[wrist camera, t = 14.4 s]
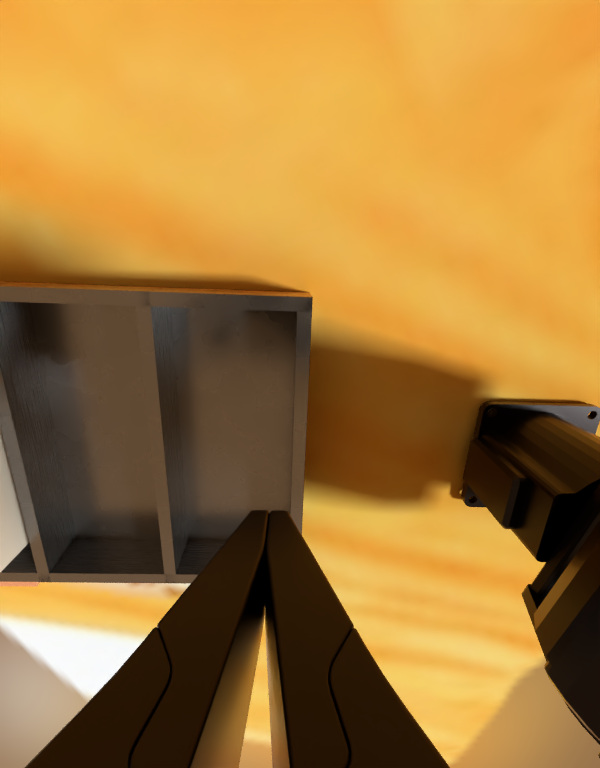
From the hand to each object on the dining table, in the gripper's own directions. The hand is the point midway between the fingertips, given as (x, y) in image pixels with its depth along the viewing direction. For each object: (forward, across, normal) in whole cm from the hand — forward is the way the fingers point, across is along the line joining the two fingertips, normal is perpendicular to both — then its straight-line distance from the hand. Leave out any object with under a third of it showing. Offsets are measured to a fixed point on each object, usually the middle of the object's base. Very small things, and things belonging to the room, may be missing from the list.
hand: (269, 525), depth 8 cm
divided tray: (+11, +9, +3) cm, 15 cm away
